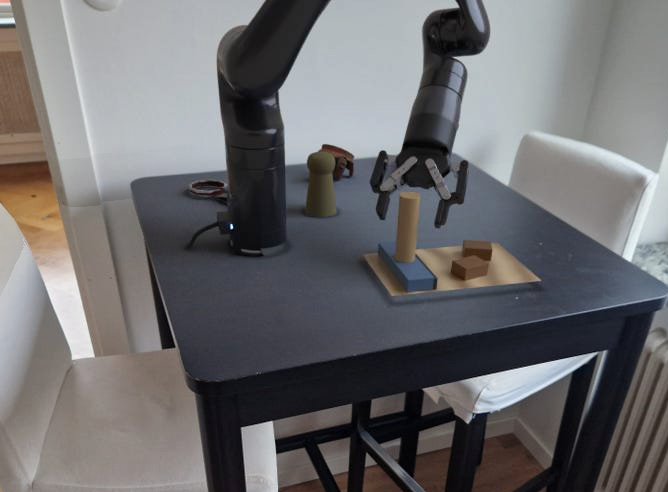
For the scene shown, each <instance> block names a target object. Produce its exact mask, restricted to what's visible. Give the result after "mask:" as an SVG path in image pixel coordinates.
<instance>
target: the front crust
mask: <svg viewBox="0 0 668 492" xmlns="http://www.w3.org/2000/svg"><path fill="white" fill-rule="evenodd" d="M488 265H489V263H487V262H486V261H484V260H482V259H480V258H478V257H477V256H475V255H474V256H469V257H465V258H461V259H456V260H452V266H451V273H453V274H454V275H456V276H458V277H459V278H461V279H462V280H464V281H466V280H470V279H474V278H478V277H482V276H486V275H487V272H488Z"/></svg>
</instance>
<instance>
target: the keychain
mask: <svg viewBox="0 0 668 492" xmlns="http://www.w3.org/2000/svg"><path fill="white" fill-rule="evenodd" d="M227 186H228V183H227V182H224V181H222V180H219V179H202V180H201V179H200V180H196V181H194V182H191V183H189V185H188V193H189V194H190V195H192V196H193V197H196V198H198V197H199V198H206V199H207V198H215V199H217V200H219V202H222V203H224V204H227V192H226V187H227ZM206 187H214V188H218V189H212V190H205V189H204V190H202V189H199V188H206Z"/></svg>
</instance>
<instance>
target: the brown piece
mask: <svg viewBox="0 0 668 492" xmlns="http://www.w3.org/2000/svg"><path fill="white" fill-rule="evenodd" d="M317 152H327V153H330V154H332V155H333V157H334V158H335V167H334V170H333V171H332V176H333V183H335V182H341V180H342V178H343V175H344V172H345V170H348V177H349V178H351V177H353V176H354V173H355V166H354V165H355V163H354V159H355V155H354V154H353V153H351V152H350V151H348V150H346V149H344V148H342V147H340V146H336V145H333V144H328V143H323V144H321V148H320V149H318V150H317ZM309 175H310V171H309V170H308V176H309Z"/></svg>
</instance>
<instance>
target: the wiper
mask: <svg viewBox="0 0 668 492" xmlns="http://www.w3.org/2000/svg"><path fill="white" fill-rule="evenodd" d="M420 206H421V194H420V193H418V192H414V191H403V192H401V193H400V192H399V199H398V212H397V225H396V226H397V227H396V240H393V241H382V242H380V241H379V242H378V243H377V244H378V245H377V253H378V255H379V256H380V257H381V259H382V260H383V261H384V263H385V264H386V265H387V266H388V268H389V269H390V270H391V272H392V273H393V274H394V276H395V277H396V278H397V280H398V281H399V282H400V284H401V285H402V286H403V287H404V289H405V290H406V291H407V292H415V291H425V290H435V289H437V281H438V278H437V277H436V276H435V275H434V274H433V272H432V271H431V270H430V269H429V268H428V267H427V266H426V265H425V263H424V262H423V261H422V260H421V259H420V258H419V257H418V255H417V254H416V253H415V252H416V250H417V240H418V238H417V237H418V229H419V216H420Z"/></svg>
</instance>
